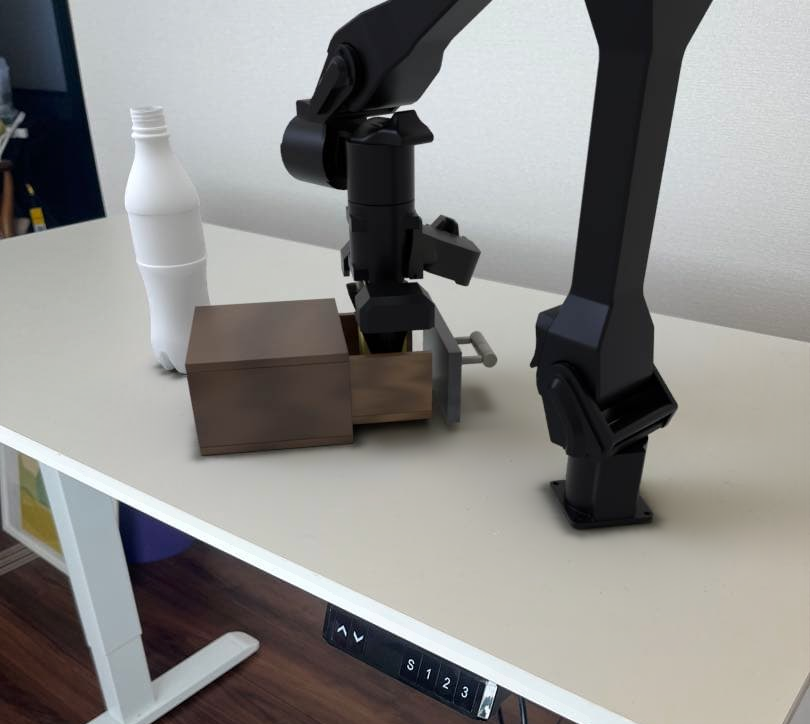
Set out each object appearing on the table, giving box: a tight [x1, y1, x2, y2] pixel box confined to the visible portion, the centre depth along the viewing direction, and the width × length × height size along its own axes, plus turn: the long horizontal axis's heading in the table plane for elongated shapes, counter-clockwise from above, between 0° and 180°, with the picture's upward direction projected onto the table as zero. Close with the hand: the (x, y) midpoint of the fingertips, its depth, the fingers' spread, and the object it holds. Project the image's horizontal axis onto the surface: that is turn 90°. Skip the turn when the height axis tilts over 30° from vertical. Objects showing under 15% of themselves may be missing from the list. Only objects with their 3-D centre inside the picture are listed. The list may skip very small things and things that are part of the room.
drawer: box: [338, 302, 498, 425], centre depth 78 cm, size 17×13×7 cm
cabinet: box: [185, 297, 354, 456], centre depth 77 cm, size 14×15×9 cm
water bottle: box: [124, 105, 212, 375], centre depth 82 cm, size 7×7×25 cm
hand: (385, 371), depth 78 cm, fingers closed on block, 4 cm apart
